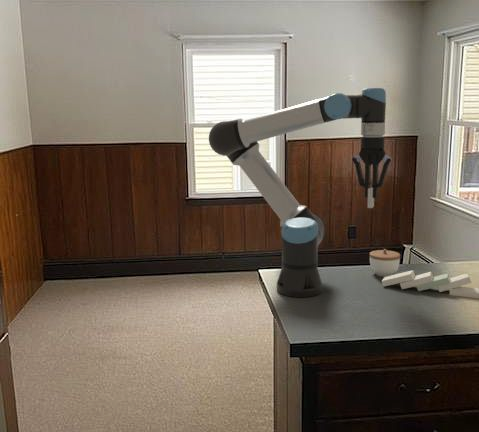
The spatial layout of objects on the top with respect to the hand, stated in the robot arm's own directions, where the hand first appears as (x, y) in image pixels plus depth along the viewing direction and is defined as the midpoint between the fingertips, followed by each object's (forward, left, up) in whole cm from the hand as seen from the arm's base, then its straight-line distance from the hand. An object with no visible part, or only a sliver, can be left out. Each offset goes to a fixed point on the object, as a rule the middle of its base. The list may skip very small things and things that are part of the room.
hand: (370, 207), depth 176 cm
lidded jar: (+3, +12, -27) cm, 29 cm away
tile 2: (+11, -1, -26) cm, 28 cm away
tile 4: (+22, 0, -25) cm, 34 cm away
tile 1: (+5, 0, -26) cm, 26 cm away
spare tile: (+16, 0, -26) cm, 30 cm away
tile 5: (+26, 0, -26) cm, 37 cm away
